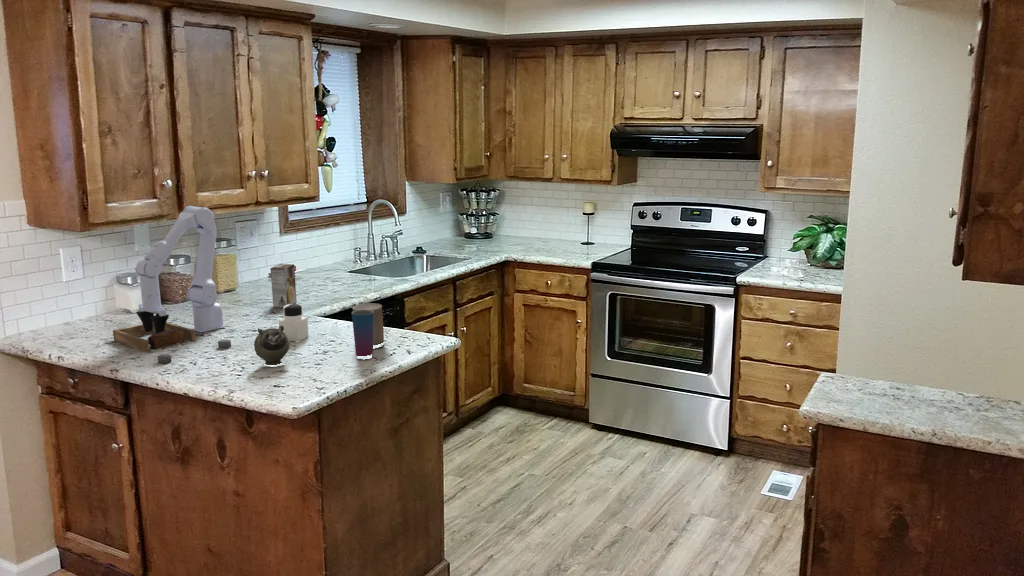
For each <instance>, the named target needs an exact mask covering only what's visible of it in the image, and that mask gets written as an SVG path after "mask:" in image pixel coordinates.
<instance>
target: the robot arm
mask: <svg viewBox="0 0 1024 576" xmlns="http://www.w3.org/2000/svg"><path fill="white" fill-rule="evenodd" d="M192 229H195V230H196V231H197V232H198V233H199V241H198V243H199V244H198V253H197V261H196V269H195V277H194V278H193V279H192V280H191V282H190V285H189V289H188V290H187V294H186V295H187V298H188V300H189V301H190V302H191V305H192V306H191V307H192V315H193V317H192V318H193V326H192V327H191V326H190V327H189V329H192V330H194V331H195V332H198V333H206V332H209V331H213V330H214V331H215V330H218V329H222V328H225V325H224V321H223V320H224V319H223V318H224V317H223V309H222V306H221V305H220V303H219V302H216V301H217V299H218V294H217V289H216V287H217V286H216V284H215V281H214V280H213V272H214V263H215V252H216V245H217V234H218V229H217V225H216V222H215V213H213V212H212V211H211V209H209V208H208V207H200V206H193V205H187V206H186V207H184V208H183V210H182V212H180V213H179V214H178V218H177V220H176V222H175V223H174V224H173V226H172V227H171V228H170V230H169V231H168V233H167V234H166V236H165V237H164V239H163V240H159V241H156V242H154V243H152V248H151V249H150V250H149V252H148V253H147V254H145V255H144V258H142V259H140V260H138V262H137V264H136V267H135V268H134V271H135V273H136V274H137V275H138V277H139V283H140V292H141V293H140V294H141V303H139V304H138V312H136V315H137V316H138V318H139V320H140V321H141V325H142V324H143V326H144V329H145V332H150V331H152V329H153V324H154V326H155V331H156V333H158V332H163V331H164V330H165V324H166V322H168V319H169V317H170V315H169V314H168V313H167V310H166V309H165V308H164V307H163V306H162V302H161V291H160V284H159V283H160V282H159V281H160V280H159V275H160V274H161V272H162V266H163V264H164V263H165V262H166V261H167V260H168V258H169V256H171V254H172V253H173V250H174V249H173V246H174V245H175V244H176V242H178V240H179V239H181V237H182V236H183V235H184V233H186V232H187V231H188V230H192Z"/></svg>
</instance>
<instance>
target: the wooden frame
mask: <svg viewBox="0 0 1024 576" xmlns="http://www.w3.org/2000/svg"><path fill="white" fill-rule="evenodd" d="M175 328H178V329H182V330H183V332H184V333H183V334H184V338H185V339H184V340H187V339H188V340H187V341H190V340H191V341H190V342H194V340H195V341H196V334H195V332H196V331H194V330H192V329H189V328H190V327H189V328H188V327H185V326H183V325H178V324H176V323H173V322H172V323H171V322H168V321H166V324H165V330H164V331H167V330H171V329H175ZM155 332H156V331H155V326H154V324H153V329H152V331H150V332H145V329H144V326H143V324H142V323H141V324H137V325H133V326H128V327H123V328H122V327H121V328H118V329H113V331H112V334H113V335H112V336H113V342H117V343H119V344H122V345H126V346H128V347H131V348H133V347H134V349H136V350H140V351H143V352H144V353H148V352H150V351H151V350H150V345H149V341H148V339H145V338H142V337H141V336H146V335H149V334H150V333H151V334H155Z"/></svg>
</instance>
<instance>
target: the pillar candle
mask: <svg viewBox="0 0 1024 576" xmlns="http://www.w3.org/2000/svg"><path fill="white" fill-rule="evenodd" d="M356 310H372V311H373V312H374V314H373V345H378V344H381V343H383V342H384V343H385V335H384V332H385V331H384V319H383V317H384V316H383V305H382V304H381V303H377V302H376V303H374V302H373V303H371V302H367V303H359V304H356V305H353V306H352V312H353V311H356Z"/></svg>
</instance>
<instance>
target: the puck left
mask: <svg viewBox="0 0 1024 576" xmlns="http://www.w3.org/2000/svg"><path fill="white" fill-rule="evenodd" d="M156 357H157V364H159V365H166V364H170V363H172V362H171V361H172V354H170V353H162V354H159V355H157V356H156Z"/></svg>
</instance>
